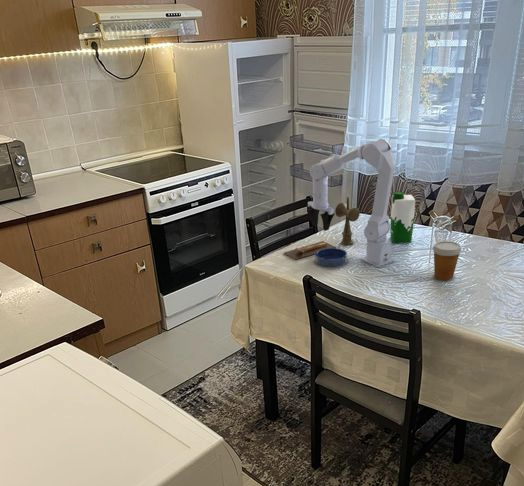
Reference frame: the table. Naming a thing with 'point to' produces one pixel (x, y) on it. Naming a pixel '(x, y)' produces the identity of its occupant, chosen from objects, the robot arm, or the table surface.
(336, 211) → the kendama
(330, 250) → the bowl
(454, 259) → the disposable coffee cup
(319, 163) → the robot arm
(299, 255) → the board
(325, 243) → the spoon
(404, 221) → the milk carton
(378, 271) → the table surface
